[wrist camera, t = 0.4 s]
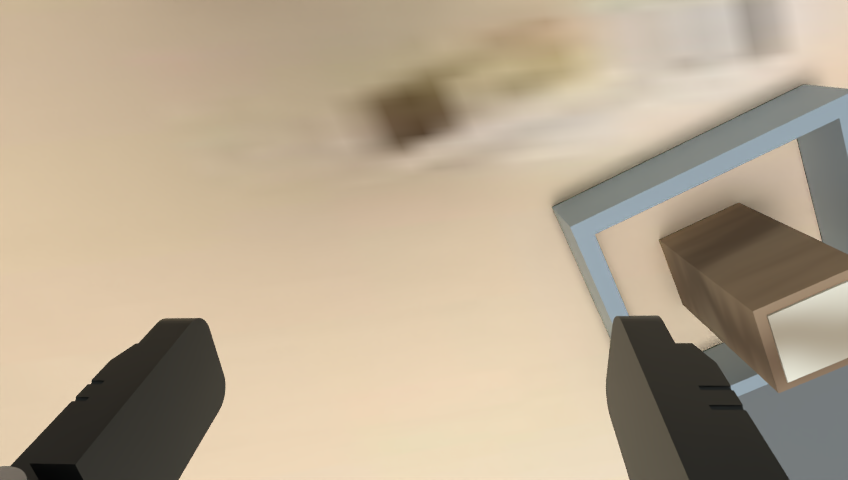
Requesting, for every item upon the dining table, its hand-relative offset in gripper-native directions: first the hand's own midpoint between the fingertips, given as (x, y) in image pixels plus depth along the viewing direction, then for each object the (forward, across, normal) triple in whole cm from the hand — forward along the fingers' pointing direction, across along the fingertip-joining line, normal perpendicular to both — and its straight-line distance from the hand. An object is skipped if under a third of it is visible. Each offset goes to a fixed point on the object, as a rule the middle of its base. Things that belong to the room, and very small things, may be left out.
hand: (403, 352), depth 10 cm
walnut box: (+21, -16, +10) cm, 28 cm away
